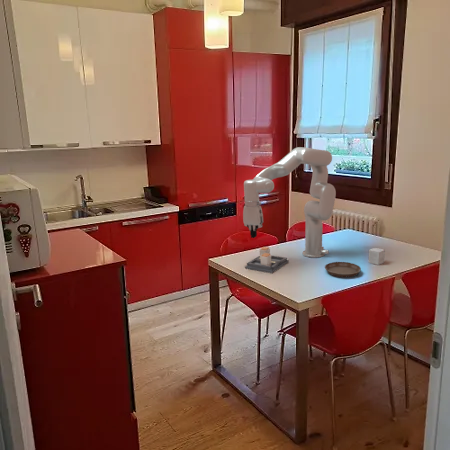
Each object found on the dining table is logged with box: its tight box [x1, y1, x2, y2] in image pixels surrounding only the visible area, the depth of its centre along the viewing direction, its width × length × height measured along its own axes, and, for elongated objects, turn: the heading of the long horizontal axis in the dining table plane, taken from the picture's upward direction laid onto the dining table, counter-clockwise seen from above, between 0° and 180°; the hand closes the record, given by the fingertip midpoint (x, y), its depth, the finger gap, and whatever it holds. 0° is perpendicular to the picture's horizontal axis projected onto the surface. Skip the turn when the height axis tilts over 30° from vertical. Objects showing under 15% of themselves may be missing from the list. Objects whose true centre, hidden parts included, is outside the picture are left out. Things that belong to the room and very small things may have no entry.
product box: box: [368, 247, 386, 266], centre depth 232 cm, size 6×6×7 cm
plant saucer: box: [324, 261, 362, 278], centre depth 220 cm, size 18×18×3 cm
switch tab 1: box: [261, 253, 272, 266], centre depth 229 cm, size 4×5×6 cm
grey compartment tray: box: [244, 254, 289, 274], centre depth 234 cm, size 16×20×3 cm
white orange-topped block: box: [259, 246, 271, 258], centre depth 240 cm, size 4×5×6 cm
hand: (253, 237), depth 230 cm, fingers closed
